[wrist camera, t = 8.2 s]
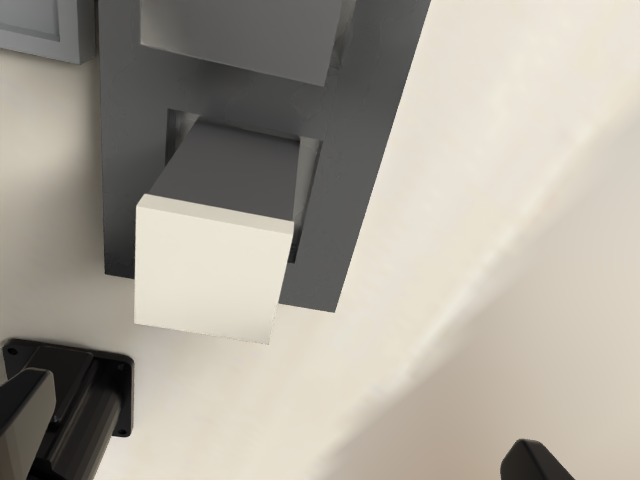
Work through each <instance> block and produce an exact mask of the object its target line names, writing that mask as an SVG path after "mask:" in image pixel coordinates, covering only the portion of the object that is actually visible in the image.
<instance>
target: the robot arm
mask: <svg viewBox="0 0 640 480" xmlns="http://www.w3.org/2000/svg"><path fill="white" fill-rule="evenodd" d="M2 350H3V356H4V361H5V367H6V372H7V378H8V381H7V382H5V383H4V384H2V385H1V386H0V480H93V479H94V477H95V474H96V472H97V469H98V467H99V465H100V462H101V460H102V457H103V455H104V453H105V450H106V448H107V445H108V443H109V440H110V438H111V436H117V437H128V436H130V434H131V432H132V429H133V410H134V361H133V359H132V358H130V357H129V356H125V355H119V354H112V353H106V352H99V351H92V350H86V349H79V348H72V347H66V346H59V345H52V344H46V343H39V342H32V341H26V340H19V339H10V340H8V341H7V343H6V344H5V345H4V346H3V349H2ZM122 364H123V365H122ZM500 474H501V480H575V479H574V478H573V477H572V476H571V475H570V474H569V473H568V471H567V470H566V469H565V468H564V467H563V466H562V465H561V464H560V463H559V462H558V461H557V459H556V458H555V457H554V456H553V455H552V454H551V453H550V452H549V451H548V449H547V448H546V447H545V446H543V444H542V443H540V442H538V441H535V440H528V439H519V440H517V441H516V442H515V444H514V445H513V446H512V448H511V449H510V451H509V452H508V453H507V455H506V456H505V458H504V459H503V461H502V463H501V468H500Z"/></svg>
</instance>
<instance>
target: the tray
mask: <svg viewBox="0 0 640 480" xmlns="http://www.w3.org/2000/svg"><path fill="white" fill-rule="evenodd" d="M0 48H4V49H9V50H13V51H18V52H23V53H27V54H32V55H37V56H41V57H46V58H51V59H55V60H60V61H65V62H69V63H74V64H78V65H80V64H82V63H84V62H86V61H87V60H89V59H91V58H93V57H95V56H96V48H95V13H94V0H0Z"/></svg>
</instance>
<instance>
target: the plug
mask: <svg viewBox="0 0 640 480" xmlns="http://www.w3.org/2000/svg"><path fill="white" fill-rule="evenodd" d="M342 4H343V0H140V40H139V45H142V46H146V47H150V48H155V49H159V50H164V51H168V52H172V53H177V54H181V55H186V56H190V57H195V58H199V59H203V60H208V61H212V62H217V63H221V64H225V65H230V66H234V67H239V68H243V69H247V70H252V71H256V72H261V73H265V74H270V75H274V76H278V77H283V78H287V79H292V80H296V81H300V82H305V83H309V84H314V85H318V86H322V87H324V84H325V80H326V75H327V71H328V66H329V62H330V58H331V53H332V49H333V44H334V40H335V35H336V31H337V26H338V22H339V17H340V13H341V8H342Z"/></svg>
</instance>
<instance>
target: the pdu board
mask: <svg viewBox="0 0 640 480" xmlns="http://www.w3.org/2000/svg"><path fill="white" fill-rule="evenodd" d="M430 2H431V0H343V4H342V8H341V13H340V17H339V22H338V26H337V31H336V35H335V40H334V44H333V49H332V53H331V58H330V62H329V66H328V71H327V75H326V80H325V84H324V87H322V86H318V85H314V84H309V83H305V82H300V81H296V80H292V79H287V78H283V77H278V76H274V75H270V74H265V73H261V72H256V71H252V70H247V69H243V68H239V67H234V66H230V65H225V64H221V63H217V62H212V61H208V60H203V59H199V58H195V57H190V56H186V55H181V54H177V53H172V52H168V51H164V50H159V49H155V48H150V47H146V46H142V45H139V40H140V0H98V14H99V55H100V97H101V139H102V181H103V222H104V264H105V274H107V275H113V276H119V277H125V278H131V279H135V244H136V206H137V204H138V203H139V201H140V200H141V198H142V197H143V195H144V194H148V192H149V191H150V189H151V188H152V186H153V185H154V183H155V182H156V180H157V179H158V177H159V176H160V174H161V173H162V171H163V170H164V168H165V167H166V165H167V164H168V162H169V161H170V159H171V158H172V156H173V155H174V153H175V152H176V150H177V149H178V147H179V146H180V144H181V143H182V141H183V140H184V138H185V137H186V135H187V134H188V132H189V131H190V129H191V128H192V126H193V125H194V123H195V122H196V120H202V121H207V122H212V123H216V124H221V125H226V126H231V127H236V128H240V129H245V130H250V131H255V132H260V133H264V134H269V135H274V136H279V137H284V138H288V139H293V140H298V141H300V147H299V158H298V168H297V179H296V189H295V199H294V210H293V220H292V222H294V231H293V238H292V243H291V247H290V252H289V256H288V260H287V265H286V269H285V274H284V278H283V283H282V287H281V292H280V296H279V301H278V303H279V304H285V305H291V306H297V307H303V308H309V309H315V310H321V311H327V312H333V313H335V310H336V307H337V303H338V300H339V297H340V294H341V290H342V287H343V284H344V281H345V277H346V274H347V271H348V268H349V265H350V261H351V258H352V255H353V252H354V248H355V245H356V242H357V239H358V235H359V232H360V229H361V226H362V222H363V219H364V216H365V213H366V209H367V206H368V203H369V200H370V196H371V193H372V190H373V187H374V183H375V180H376V177H377V174H378V170H379V167H380V164H381V161H382V157H383V154H384V151H385V148H386V144H387V141H388V138H389V135H390V132H391V128H392V125H393V122H394V119H395V115H396V112H397V109H398V106H399V102H400V99H401V96H402V93H403V89H404V86H405V83H406V80H407V76H408V73H409V70H410V67H411V63H412V60H413V57H414V54H415V50H416V47H417V44H418V41H419V37H420V34H421V31H422V28H423V24H424V21H425V18H426V15H427V12H428V8H429V5H430Z"/></svg>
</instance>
